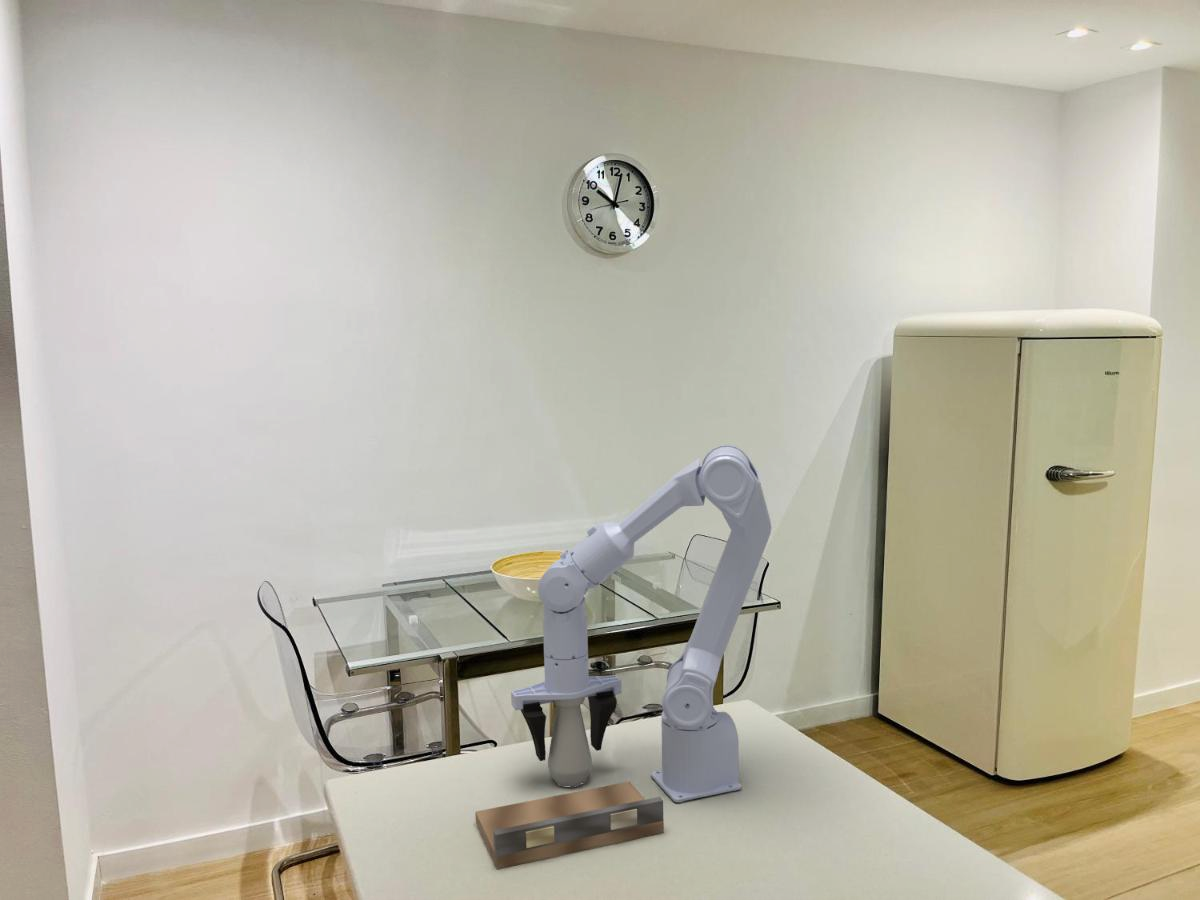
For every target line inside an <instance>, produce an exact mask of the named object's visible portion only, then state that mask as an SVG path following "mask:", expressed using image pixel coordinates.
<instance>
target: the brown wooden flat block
mask: <svg viewBox="0 0 1200 900" xmlns="http://www.w3.org/2000/svg"><path fill="white" fill-rule="evenodd" d="M474 812H475V825H476V827H477V829H478V831H479V833H480V836H481V838H482V841H483V842H484V845H485V846H486V849H487V851H488V853H489V855H490V858H491V860H492V862H493V864H494V866H495V869H496V870H500V869H505V868H510V867H514V866H519V865H523V864H527V863H532V862H536V861H541V860H545V859H550V858H551V859H552V858H555V857H561V856H565V855H570V854H573V853H574V854H575V853H579V852H582V851H586V850H587V849H588V850H591V849H590V848H592V849H597V848H600V847H601V848H602V847H605V846H604V845H606V846H610V845H613V844H614V845H615V844H619V843H623V841H624V842H628V840H629V841H632V840H637V839H642V838H647V837H651V836H655V835H656V836H657V835H659V833H660V835H661V834H664V831H665V830H664V821H665V820H664V800H663V799H662V797H661V796H655V797H651V798H645V796H643V795H642V794H641V793H640V792H639V790H638V789H637V788H636V787H635V785H634V784H633V783H632V782H631V781H630V780H629V781H625V782H620V783H614V784H609V785H604V786H599V787H593V788H588V789H584V790H578V791H572V792H568V793H561V794H558V795H554V796H548V797H543V798H538V799H532V800H526V801H523V802H522V801H521V802H517V803H512V804H511V803H510V804H507V805H502V806H497V807H496V806H495V807H492V808H486V809H482V810H477V811H474ZM596 847H597V848H596Z"/></svg>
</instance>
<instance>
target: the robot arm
mask: <svg viewBox="0 0 1200 900" xmlns="http://www.w3.org/2000/svg"><path fill="white" fill-rule="evenodd" d="M701 460H702V457H699V458H698V459H695V460H694V461H693V462H691V463H690V464H688V465H687V466H685V467H683V468H682V469H681V470H679V471H678V472H676V473H675V474H674V475H673V476H671V477H670V478H669V479H668V480H667V481H666V482H664V484H662V485H661V486H660V487H659V488H658V489H657V490H655V491H654V492H653V493H652V494H650V496H649V497H647V498H646V499H645V500H644V501H643V502H641V504H639V506H637V507H635V509H634V510H633V511H632V512H630V513H629V514H628V515H627V516H625V518H624V519H622V520H621V521H620V522H611V521H605V522H602V523H601V524H600V525H599V526H598V525H597V524H596V523H595V524H593V525H592V526H590V528H588V529H587V530H586V534H587V536H585V538H583V540H581V541H580V542H578V544H575V546H574V547H573V548H571V549H570V550H568V549H564V550H563V551H562V552H561V553H560V554H559V557H560V558H559V559H558V560H556V561H554V562H552V564H551V565H550V566H549V567H548V568H547V569H546V571H545V572H544V574H542V576H541V578H540V580H539V582H538V587H537V589H538V590H537V592H538V596H539V599H540V601H541V602H542V604H543V607H542V609H543V619H542V626H543V627H542V628H543V630H542V631H543V657H544V658H543V660H544V661H543V664H544V666H543V667H544V668H543V669H544V681H543V682H539V683H536V684H533V685H530V686H527V687H523V688H519V689H515V690H511V691H510V694H511V696H510V698H511V699H510V700H511V706H512V708H513V709H514V711H520V713H521V715H522V716H523V718H524V720H525V722H526V723H525V724H526V725H527V727H528V730H529V732H530V735H531V739H532V741H533V745H534V750H535V751H534V752H535V756H536V757H537V759H538V760H539V761H540V762H542V761H546V754H547V753H546V739H545V737H546V734H545V733H546V732H545V731H546V720H547V715H546V714H545V713H544V711H543V706H541V705H545V704H551V703H553V700H571V699H577V698H581V697H584V696H585V698H588V699H587V700H588V706H589V707H588V708H589V714H590V715H589V716H590V717H589V718H590V728H589V729H590V730H589V731H590V733H589V734H590V735H589V736H590V745H591V746H592V748H594V750H595V751H596V752H597V751H601V750H602V745H603V742H604V741H603V740H604V737H605V733H606V729H607V727H608V724H609V722H610V719H611V717H612V715H613V713H614V711H615V710H616V708H617V705H618V704H617V702H618V701H617V698H616V697H615V695H620V694H622V693H623V691H622V679H621V678H620V677H619V676H618V675H616V674H613V675H612V674H611V675H597V676H596V675H594V676H593V675H591V676H590V675H589V645H588V643H589V641H588V640H589V639H588V638H589V636H588V618H587V613H586V612H587V611H586V610H587V609H586V608H587V606H586V604H587V603H586V597H585V595H586V594H587V592H588V591H589V590H590V589H593V588H597V587H598V586H599V585H600V584H602V583H603V582H604V581H605V580H606V579H608V578H609V577H611V576H612V575H613V574H614V573H615V572H617V571H618V570H619V569H620V568H621V567H623V566H624V565H625V564H626V563H627V562H629V561H630V560H631V559H633V557H634V554H635V542H637V541H638V540H640V539H641V538H643V536H645V535H647V534H648V533H649V532H651V530H653V529H655V528H656V527H657V526H659V524H661V523H662V522H664V521H665V520H666V519H667V518H669V517H670V516H672V515H673V514H674V513H675V512H677V511H678V510H679V509H681V508H683V507H701V506H704V505H705V501H706V499H707V500H708V501H709V502H710V503H712V505H713V506H714V507H716V508H717V509H718V511H720V512H721V513H722V515H723V518H724V520H725V521H726V524H727V525H728V527H729V529H730V532H729V535H728V539H727V541H726V543H725V546H724V549H723V552H722V554H721V556H720V559H719V561H718V564H717V566H716V570H715V572H714V575H713V577H712V579H711V583H710V585H709V589H708V590H707V594H706V596H705V598H704V601H703V604H702V606H701V609H700V610H699V611H700V612H699V614H698V617H697V619H696V621H695V625H694V628H693V629H692V633H691V635H690V638H689V639H688V641H687V643H686V644H685V648H684V650H683V652H682V654H681V656H680V657H679V658H677V660H675V661H674V662H673V663H672V664H671V666H670V667H669V669H668V671H667V674H666V675H667V676H666V686H665V691H664V694H663V696H662V698H661V699H662V700H661V707H662V712H661V769H660V770H654V771H651V773H650V777H651V778H652V779H653V780H654V781H655V782H656V784H658V786H659V787H660V788H661V789H662V790H663V791H664V792H665V793H666V794H667V796H668V797H669V798H670V799H671V800H672V801H673V802H674V803H681V802H684V801H685V802H686V801H689V800H690V801H691V800H694V799H699V798H703V797H710V796H714V795H718V794H724V793H728V792H732V791H737V790H739V791H740V790H741V789H742V784H741V783H740V782H739V781H740V780H739V771H740V770H739V769H740V765H739V764H740V763H739V761H740V760H739V757H740V756H739V754H740V753H739V751H740V748H739V747H740V746H739V734H738V729H737V726H736V724H735V721H734V720H733V718H732V716H731V715H730V713H728V712H726V711H717V710H715V706H714V697H713V696H714V687H715V684H716V682H717V678H718V676H719V675H718V674H719V671H720V667H721V664H722V659H723V658H724V654H725V651H726V649H727V646H728V644H729V642H730V639H731V636H732V634H733V631H734V628H735V626H736V624H737V621H738V619H739V617H740V614H741V611H742V608H743V605H744V603H745V601H746V598H747V595H748V593H749V591H750V588H751V584H752V582H753V580H754V577H755V576H756V575H755V574H756V572H757V570H758V567H759V564H760V562H761V560H762V557H763V553H764V551H765V549H766V546H767V544H768V541H769V538H770V536H771V533H772V522H771V518H770V514H769V510H768V506H767V502H766V498H765V495H764V491H763V488H762V482H761V480H760V476H759V472H758V469H756V467H755V465H754V463H752V461H751V459H750V458H749V457H748V455H747V454H746V452H744V450H743V449H741V448H739V447H737V446H734V445H731V444H723V445H719V446H715V447H713V448H712V449H711V450H709V451H708V452H707V454H705V457H703V461H702V464H701ZM700 464H701V466H700Z"/></svg>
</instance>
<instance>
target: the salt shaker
mask: <svg viewBox="0 0 1200 900" xmlns="http://www.w3.org/2000/svg"><path fill="white" fill-rule="evenodd" d="M585 698H586V697H585V696H584V697H581V698H577V699H571V700H553V702H552V703H553V705H555V712H554V717H553V718H554V719H553V726H552V732H551V737H550V738H551V739H550V744H549V745H550V746H549V752H548V758H547V766H548V767H547V768H548V770H549V771H550V774H551V776H552V778H553V780H554V782H555V781H556V782H557V783H558V784H559V785H560V786H570V787H569V788H572V787H574V788H576V787H575V786H577V785H579V786H581V785H580V784H581V783H584V782H585V783H586V782H587V779H588V777H589V774H590V771H591V769H592V767H593V759H592V756H591V755H592V754H591V750H590V745H589V741H588V736H587V732H586V728H585V722H584V718H583V714H582V708H581V705H582V704H583V703H584V702H585ZM556 782H555V783H556ZM557 783H556V784H557ZM585 783H584V784H585ZM558 784H557V785H558ZM559 785H558V786H559ZM560 786H559V787H560ZM577 787H578V786H577Z"/></svg>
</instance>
